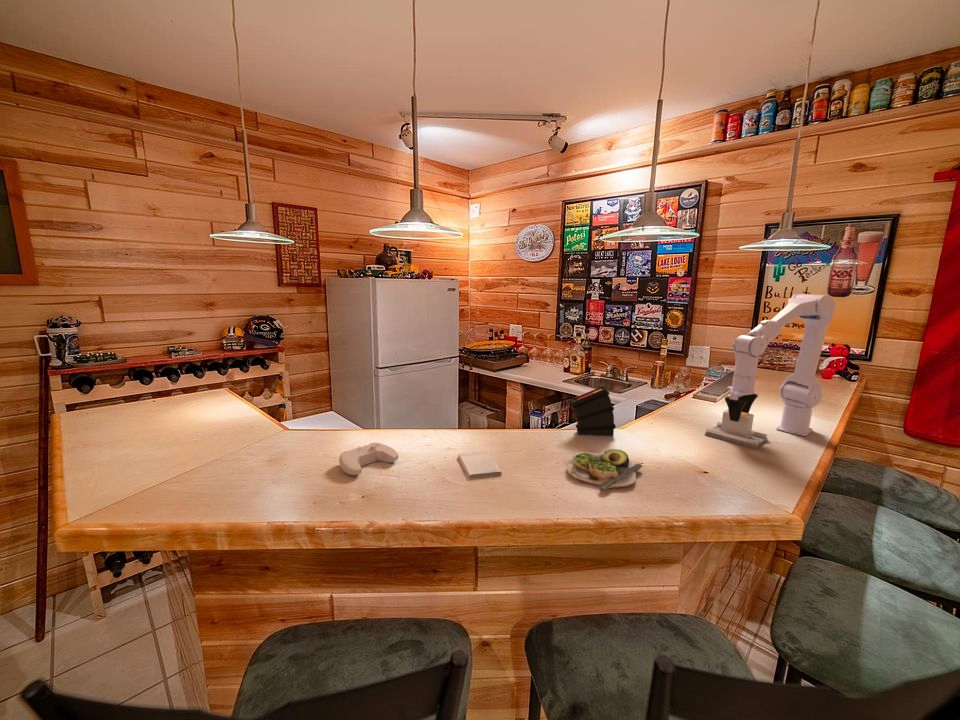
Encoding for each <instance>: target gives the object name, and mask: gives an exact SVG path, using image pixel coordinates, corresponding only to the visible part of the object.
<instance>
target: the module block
mask: <svg viewBox="0 0 960 720" xmlns="http://www.w3.org/2000/svg"><path fill="white" fill-rule="evenodd" d="M721 423H722V425H721V431H723V432H726V433H730V434H734V435H738V436H741V437H745V438H749V437H750V436H751V430H752V429H753V424H754V414H752V413H746V412H741V416H740V419H739V421H738V422H735V421H731V420H730V417H729V409H728V408H727V409H726V410H724V411H723V413H722V420H721ZM752 431H753V430H752Z"/></svg>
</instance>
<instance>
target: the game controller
mask: <svg viewBox="0 0 960 720" xmlns="http://www.w3.org/2000/svg"><path fill="white" fill-rule="evenodd" d="M397 460H399V453H398V452H397V451H396V450H395V449H394V448H393V447H391V446H388V445H386V444H383V443H380V442H370V443H369V444H367V445H363V446H358V447H356V448H353V449H350V450H344V451H343V452H341V453H340V455H339V460H338V462H339V467H340V468H341V470H342V471H343V472H344V473H345V474H347V475H350V476H358V475H359V474H362V467H363V466H365V465H368V464H371V463H375V462H378V461H380V462H384V463H394V462H396V461H397Z"/></svg>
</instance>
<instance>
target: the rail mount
mask: <svg viewBox="0 0 960 720" xmlns="http://www.w3.org/2000/svg"><path fill="white" fill-rule="evenodd" d="M721 425H722V422H719V421H718V422H716V426H714V427H713V428H710V427H706V429H705V432H704V436H707V437H712V438H714V439H715V438H716V439H719V440H722V441H726V442H729V443H733V444H735V445H740V446H744V447H746V448H749V449H750V448H751V449H755V450H756V449H758V447H760V446H761V445H763V444H764V443H765V442H767V441H768V438H769V437H768V433H764V432H760V431H756V430H751V436H750V437H749V438H745V437H741V436H738V435H734V434H730V433H726V432H723V431H721Z"/></svg>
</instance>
